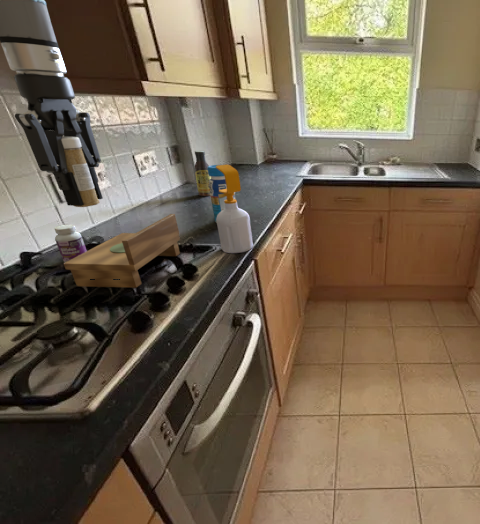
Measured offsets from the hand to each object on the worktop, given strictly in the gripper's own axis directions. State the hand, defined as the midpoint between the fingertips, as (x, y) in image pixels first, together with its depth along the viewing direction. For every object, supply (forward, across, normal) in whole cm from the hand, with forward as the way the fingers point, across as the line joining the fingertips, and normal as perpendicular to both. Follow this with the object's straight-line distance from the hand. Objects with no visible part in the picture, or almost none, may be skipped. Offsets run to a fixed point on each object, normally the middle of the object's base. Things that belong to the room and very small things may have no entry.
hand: (85, 201), depth 69 cm
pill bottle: (+21, +14, +20) cm, 32 cm away
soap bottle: (+21, +25, -19) cm, 38 cm away
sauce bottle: (+21, +86, +19) cm, 91 cm away
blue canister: (+21, +50, -6) cm, 55 cm away
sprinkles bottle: (+1, 0, 0) cm, 1 cm away
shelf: (+21, +10, +2) cm, 23 cm away
